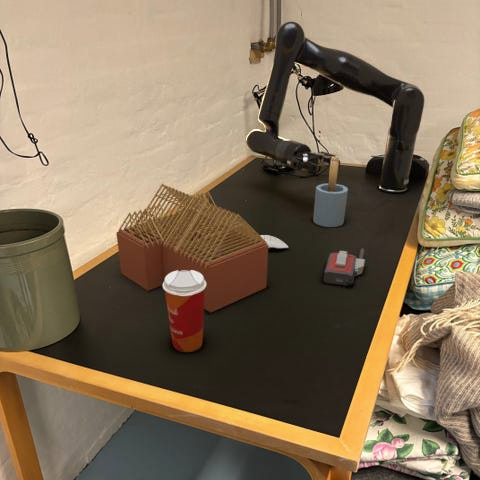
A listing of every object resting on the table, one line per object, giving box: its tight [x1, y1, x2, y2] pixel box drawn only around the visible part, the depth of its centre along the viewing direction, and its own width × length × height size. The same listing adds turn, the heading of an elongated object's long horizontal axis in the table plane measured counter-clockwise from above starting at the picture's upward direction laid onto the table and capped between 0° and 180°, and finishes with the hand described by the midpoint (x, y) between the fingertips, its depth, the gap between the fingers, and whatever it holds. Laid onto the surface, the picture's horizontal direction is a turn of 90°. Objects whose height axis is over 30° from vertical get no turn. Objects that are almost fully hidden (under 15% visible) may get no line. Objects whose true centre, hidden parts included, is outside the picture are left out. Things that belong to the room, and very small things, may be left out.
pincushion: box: [256, 226, 289, 249], centre depth 131 cm, size 12×6×6 cm, turn 81°
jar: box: [312, 183, 349, 228], centre depth 146 cm, size 9×9×10 cm
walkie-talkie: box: [323, 247, 366, 287], centre depth 121 cm, size 9×4×20 cm
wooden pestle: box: [327, 155, 340, 192], centre depth 144 cm, size 5×5×18 cm
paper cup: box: [162, 270, 206, 353], centre depth 91 cm, size 8×8×14 cm
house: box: [115, 183, 269, 313], centre depth 112 cm, size 28×23×19 cm
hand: (328, 166), depth 143 cm, fingers open, 8 cm apart
